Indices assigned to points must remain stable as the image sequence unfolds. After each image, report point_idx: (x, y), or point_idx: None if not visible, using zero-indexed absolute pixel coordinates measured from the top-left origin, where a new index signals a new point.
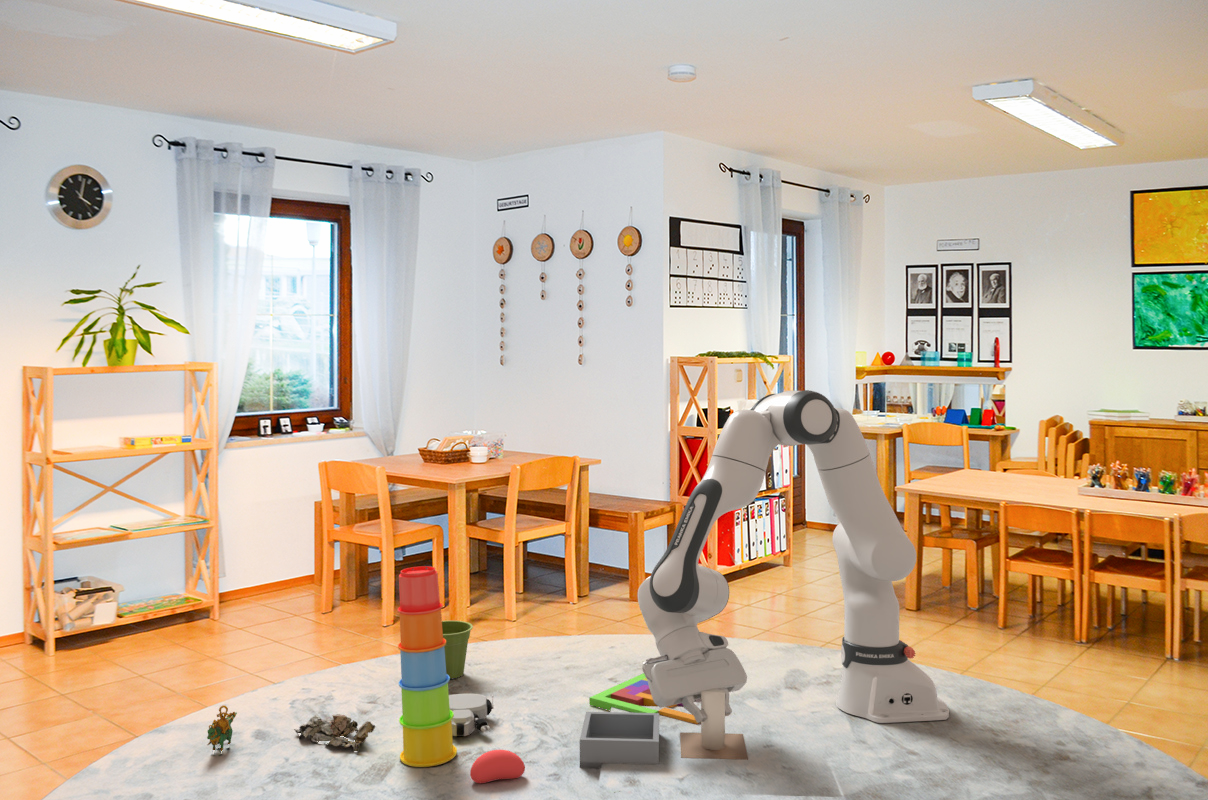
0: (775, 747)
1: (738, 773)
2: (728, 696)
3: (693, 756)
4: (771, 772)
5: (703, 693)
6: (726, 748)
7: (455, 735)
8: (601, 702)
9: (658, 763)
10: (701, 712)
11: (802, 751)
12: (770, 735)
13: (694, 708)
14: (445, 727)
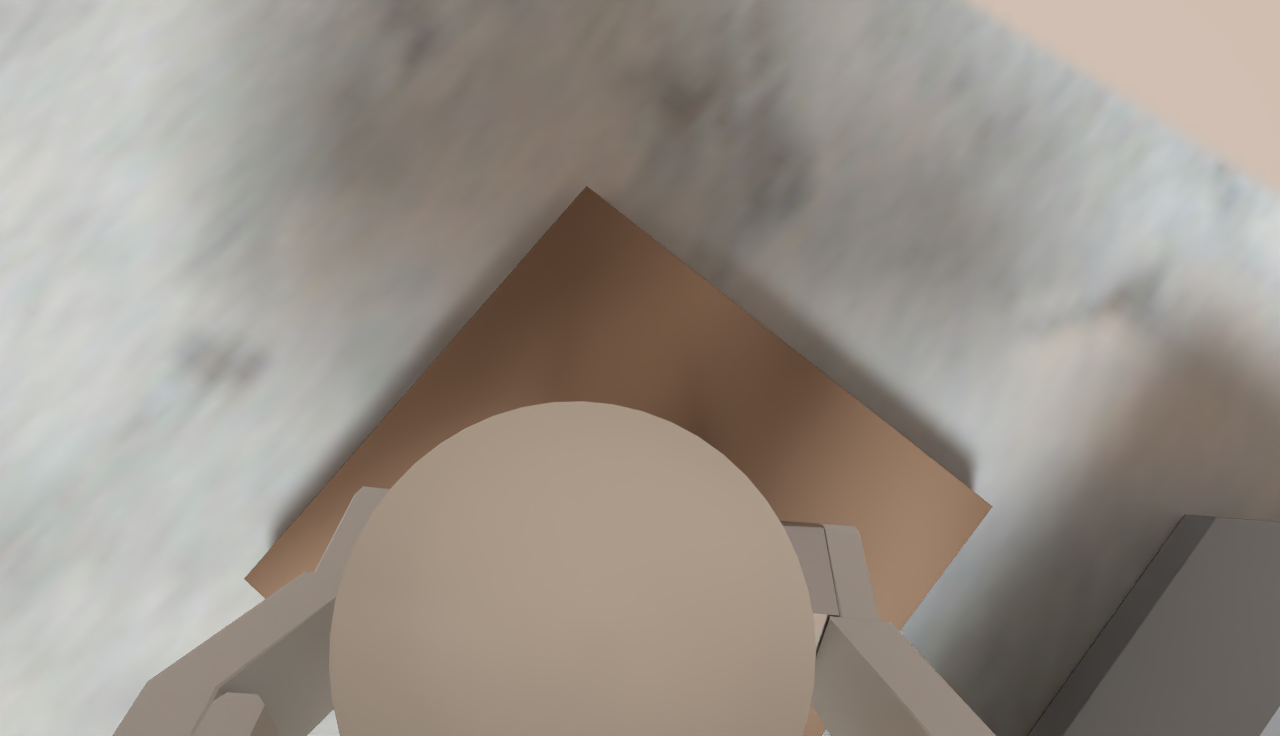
0: (203, 309)
1: (740, 143)
2: (214, 646)
3: (896, 463)
4: (551, 34)
5: (790, 700)
6: None
7: None
8: None
9: (1220, 517)
10: (822, 578)
11: (115, 150)
12: (44, 499)
13: (917, 658)
14: None
